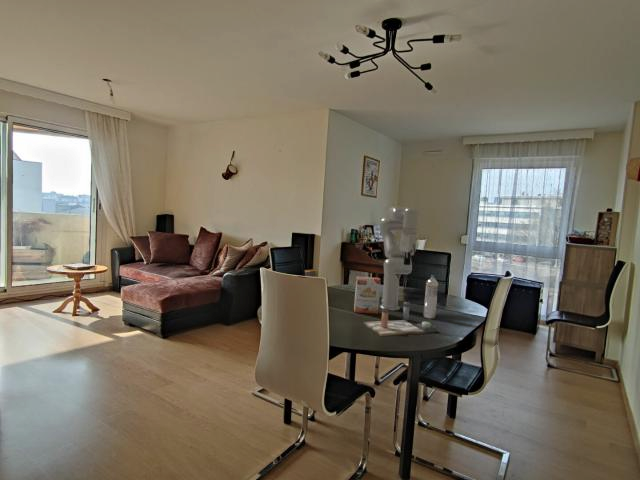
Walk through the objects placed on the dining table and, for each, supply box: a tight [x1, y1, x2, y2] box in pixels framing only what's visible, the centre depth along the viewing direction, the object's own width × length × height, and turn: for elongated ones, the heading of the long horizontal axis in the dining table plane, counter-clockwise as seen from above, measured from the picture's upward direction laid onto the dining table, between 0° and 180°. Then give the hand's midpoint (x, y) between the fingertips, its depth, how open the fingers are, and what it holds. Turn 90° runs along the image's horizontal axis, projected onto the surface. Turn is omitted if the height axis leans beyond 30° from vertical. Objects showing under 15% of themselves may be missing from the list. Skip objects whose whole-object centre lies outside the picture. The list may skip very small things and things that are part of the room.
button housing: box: [416, 322, 437, 334], centre depth 194 cm, size 7×7×2 cm
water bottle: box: [423, 274, 439, 320], centre depth 218 cm, size 7×7×25 cm
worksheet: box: [363, 319, 425, 337], centre depth 193 cm, size 19×25×1 cm
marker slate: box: [402, 301, 411, 322], centre depth 210 cm, size 3×3×10 cm
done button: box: [421, 321, 432, 327], centre depth 194 cm, size 5×5×4 cm
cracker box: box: [353, 276, 382, 315], centre depth 221 cm, size 14×6×21 cm, turn 92°
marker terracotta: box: [381, 307, 390, 328], centre depth 190 cm, size 3×3×10 cm
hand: (406, 264), depth 204 cm, fingers closed
